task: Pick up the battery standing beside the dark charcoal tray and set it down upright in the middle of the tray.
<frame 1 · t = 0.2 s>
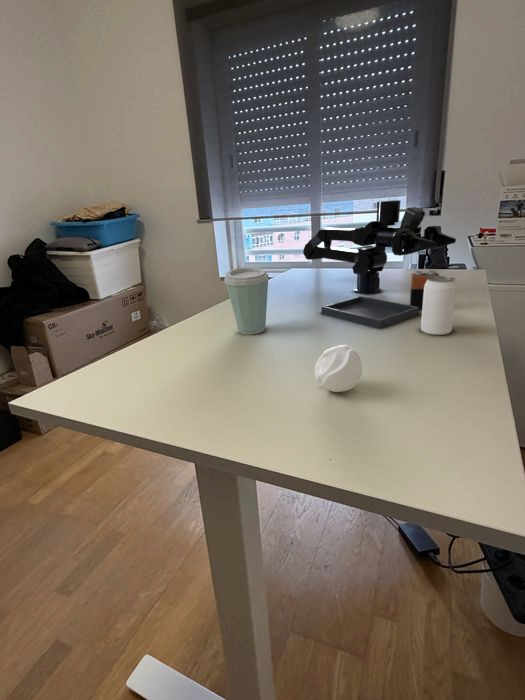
hand: (445, 242, 106), 17 cm above the table, tool horizontal, fingers open, 9 cm apart
battery: (423, 308, 110), on the table
can: (435, 332, 92), on the table
disposable coffee cup: (250, 331, 101), on the table
tray: (368, 314, 108), on the table
white ball: (338, 390, 68), on the table
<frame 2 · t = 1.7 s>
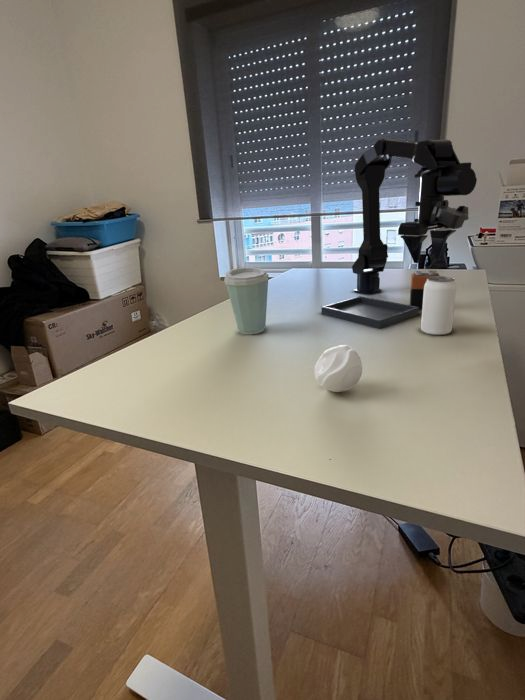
hand: (426, 260, 106), 13 cm above the table, tool pointing down, fingers open, 9 cm apart
nothing on the table moved.
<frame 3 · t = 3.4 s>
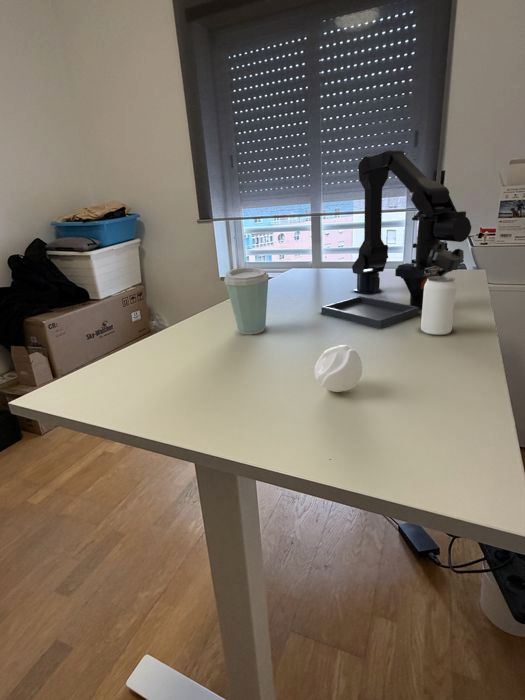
hand: (423, 298, 109), 3 cm above the table, tool pointing down, fingers closed on battery, 7 cm apart
battery: (423, 308, 110), on the table, touching gripper
everything else where it was.
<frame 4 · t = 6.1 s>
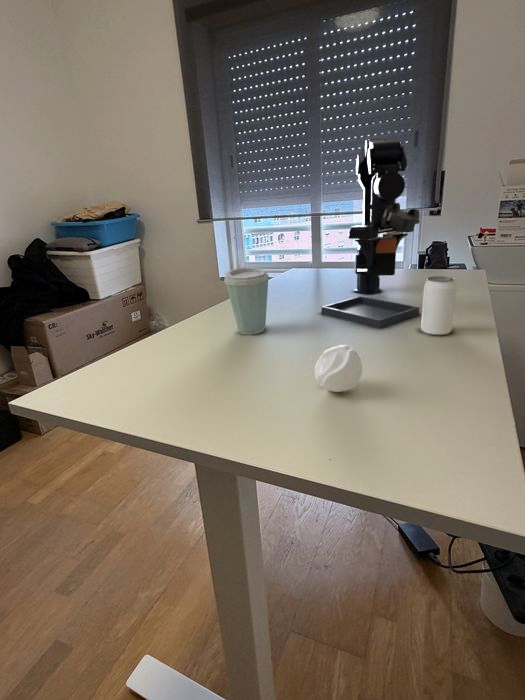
hand: (380, 264, 104), 13 cm above the table, tool pointing down, fingers closed on battery, 7 cm apart
battery: (380, 275, 105), point 10 cm above the table, touching gripper
everything else where it was.
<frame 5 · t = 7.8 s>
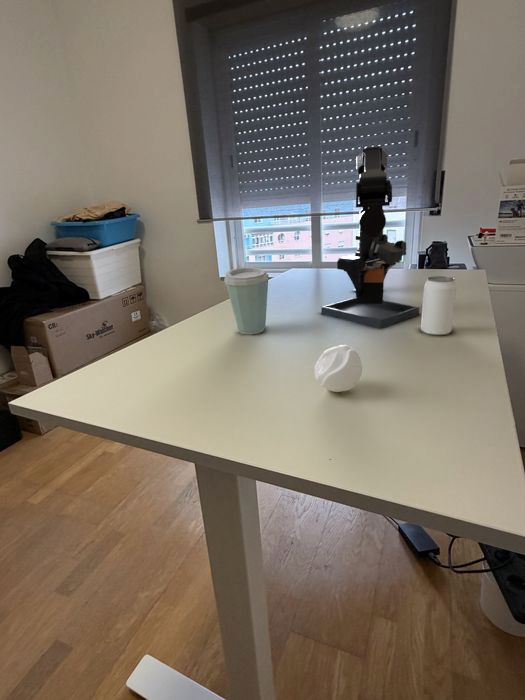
hand: (369, 292, 106), 6 cm above the table, tool pointing down, fingers closed on battery, 7 cm apart
battery: (369, 302, 107), point 3 cm above the table, touching gripper
everything else where it was.
when the fingers open (3 cm above the table, at t = 9.2 s): battery stays where it is, resting on tray.
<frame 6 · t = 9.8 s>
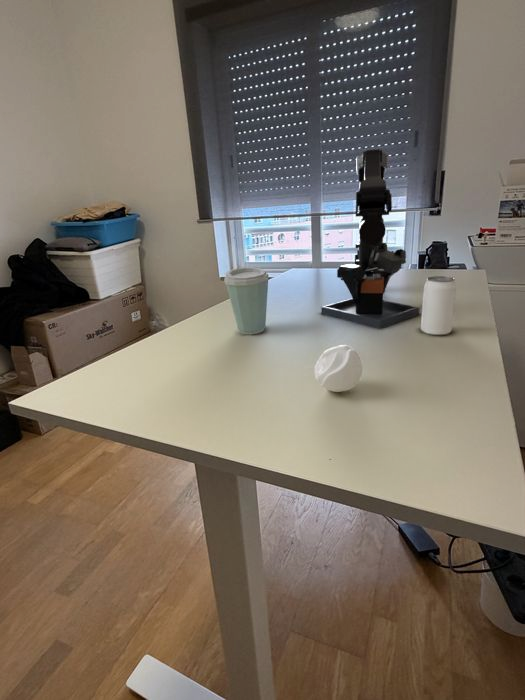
hand: (369, 300, 107), 4 cm above the table, tool pointing down, fingers open, 9 cm apart
battery: (369, 312, 108), resting on tray
everything else where it was.
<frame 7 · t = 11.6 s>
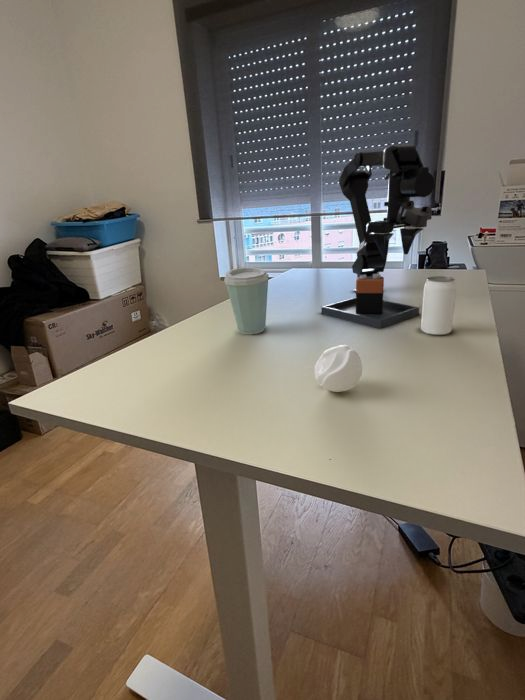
hand: (395, 256, 114), 13 cm above the table, tool pointing down, fingers open, 9 cm apart
nothing on the table moved.
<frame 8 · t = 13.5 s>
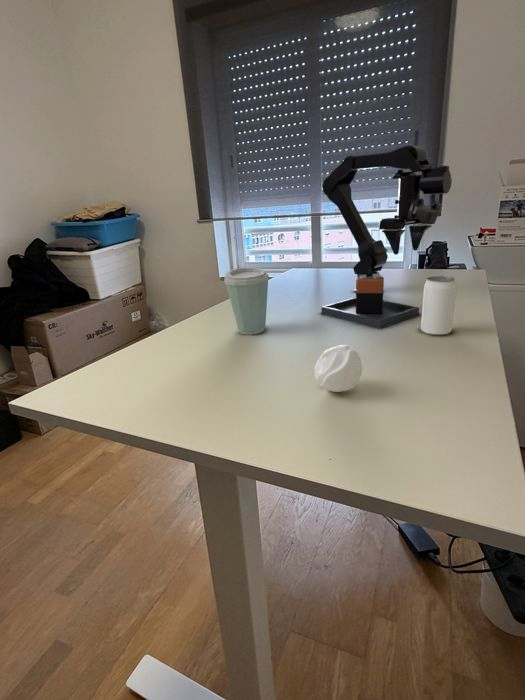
hand: (405, 252, 119), 13 cm above the table, tool pointing down, fingers open, 9 cm apart
nothing on the table moved.
at the end: battery inside the target area in the tray (0.2 cm from its centre), point 0.3 cm above the tray's base; battery tilted 0°; the gripper is holding nothing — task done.
